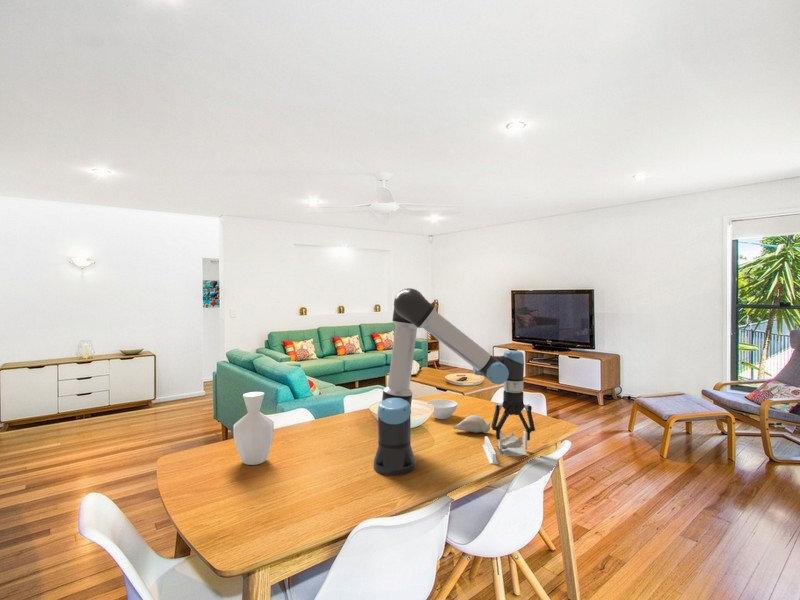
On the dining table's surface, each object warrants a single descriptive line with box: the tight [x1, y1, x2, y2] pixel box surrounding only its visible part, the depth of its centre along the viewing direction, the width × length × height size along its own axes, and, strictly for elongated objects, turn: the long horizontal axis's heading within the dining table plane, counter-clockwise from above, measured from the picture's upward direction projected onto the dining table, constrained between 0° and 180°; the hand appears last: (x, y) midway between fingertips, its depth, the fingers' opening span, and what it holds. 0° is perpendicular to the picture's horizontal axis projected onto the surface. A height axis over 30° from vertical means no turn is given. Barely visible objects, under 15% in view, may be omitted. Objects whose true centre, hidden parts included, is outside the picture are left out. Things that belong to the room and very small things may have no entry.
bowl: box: [425, 398, 459, 420], centre depth 201 cm, size 16×16×7 cm
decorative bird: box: [453, 414, 491, 434], centre depth 177 cm, size 9×16×8 cm, turn 79°
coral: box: [501, 432, 524, 450], centre depth 154 cm, size 6×10×4 cm, turn 50°
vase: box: [232, 391, 275, 466], centre depth 148 cm, size 14×14×25 cm
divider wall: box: [482, 436, 499, 465], centre depth 152 cm, size 3×18×4 cm, turn 177°
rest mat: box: [496, 445, 527, 457], centre depth 154 cm, size 12×12×1 cm
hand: (512, 447), depth 154 cm, fingers open, 9 cm apart
